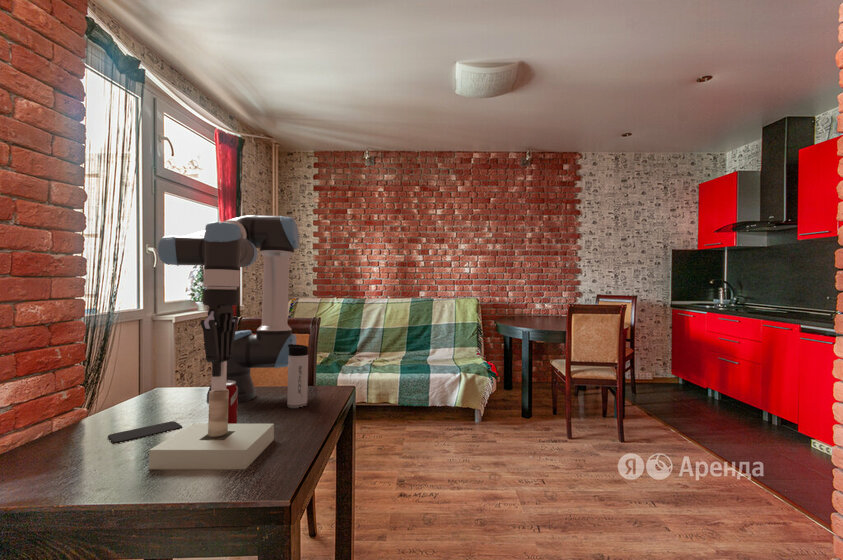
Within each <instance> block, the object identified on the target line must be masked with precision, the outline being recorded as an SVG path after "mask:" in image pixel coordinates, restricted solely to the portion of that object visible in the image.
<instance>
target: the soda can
mask: <svg viewBox="0 0 843 560" xmlns="http://www.w3.org/2000/svg"><path fill="white" fill-rule="evenodd" d="M235 384H236V382H235V381H226V389H228V390H229V396H228V424H238V406H239V405H238V404H239V403H238V387H237V386H236V385H235ZM211 391H212V390H211Z"/></svg>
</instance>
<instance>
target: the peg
mask: <svg viewBox="0 0 843 560" xmlns="http://www.w3.org/2000/svg"><path fill="white" fill-rule="evenodd" d="M228 396H229V390H228V389H225V390H212V391H209V403H208V417H207V418H208V420H207V422H208V423H207V424H208V440H225V439H226V438H227V435H228Z"/></svg>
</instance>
